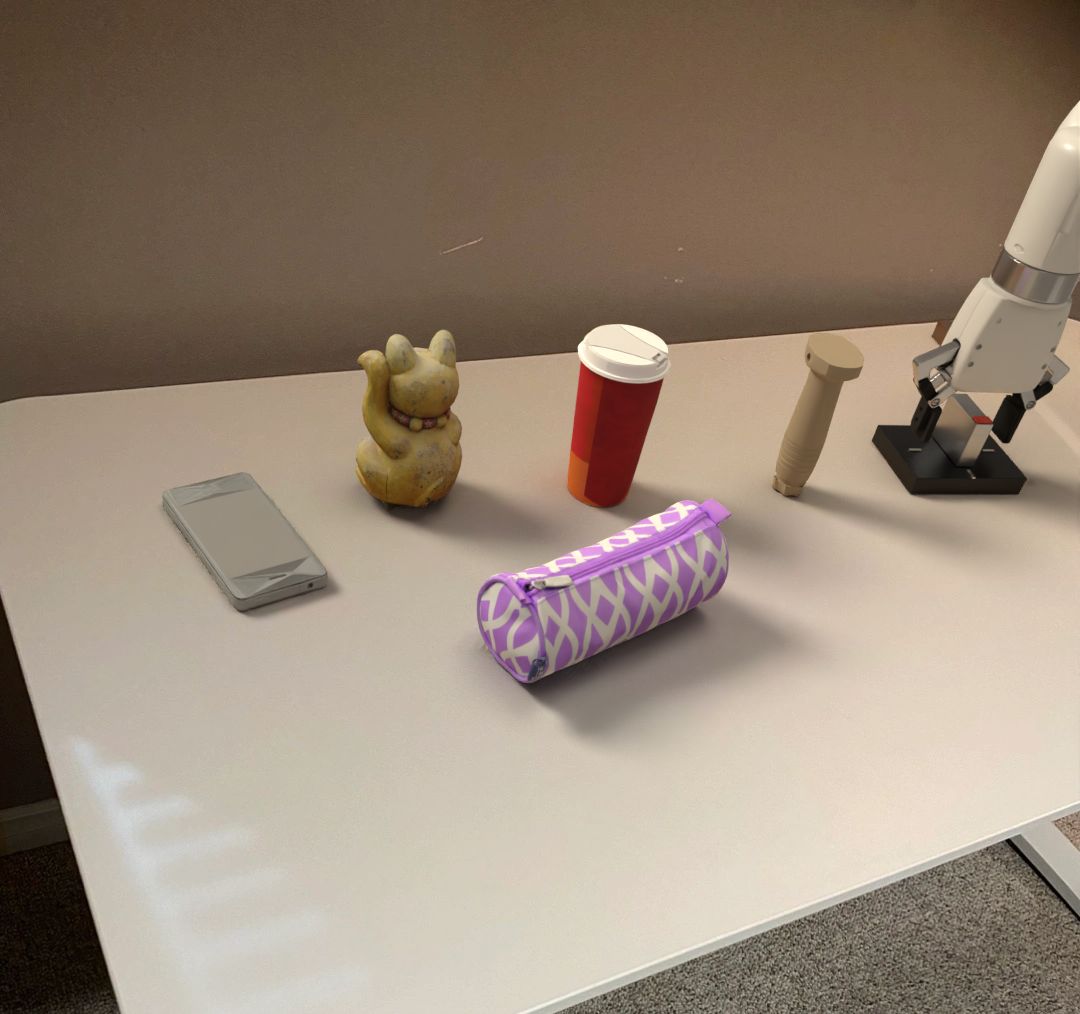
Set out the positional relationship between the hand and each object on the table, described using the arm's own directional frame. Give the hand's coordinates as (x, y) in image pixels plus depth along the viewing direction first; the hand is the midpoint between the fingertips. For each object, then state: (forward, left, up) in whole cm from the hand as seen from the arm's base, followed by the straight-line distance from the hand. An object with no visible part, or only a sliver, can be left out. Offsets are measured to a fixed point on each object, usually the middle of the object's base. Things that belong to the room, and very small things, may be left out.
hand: (958, 435), depth 114 cm
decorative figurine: (+58, +5, -4) cm, 58 cm away
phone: (+73, +12, -4) cm, 74 cm away
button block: (-18, -25, -4) cm, 31 cm away
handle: (+20, +4, -4) cm, 21 cm away
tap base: (0, 0, -4) cm, 4 cm away
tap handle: (0, 0, -2) cm, 2 cm away
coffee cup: (+40, +4, -4) cm, 40 cm away
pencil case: (+45, +24, -4) cm, 51 cm away
